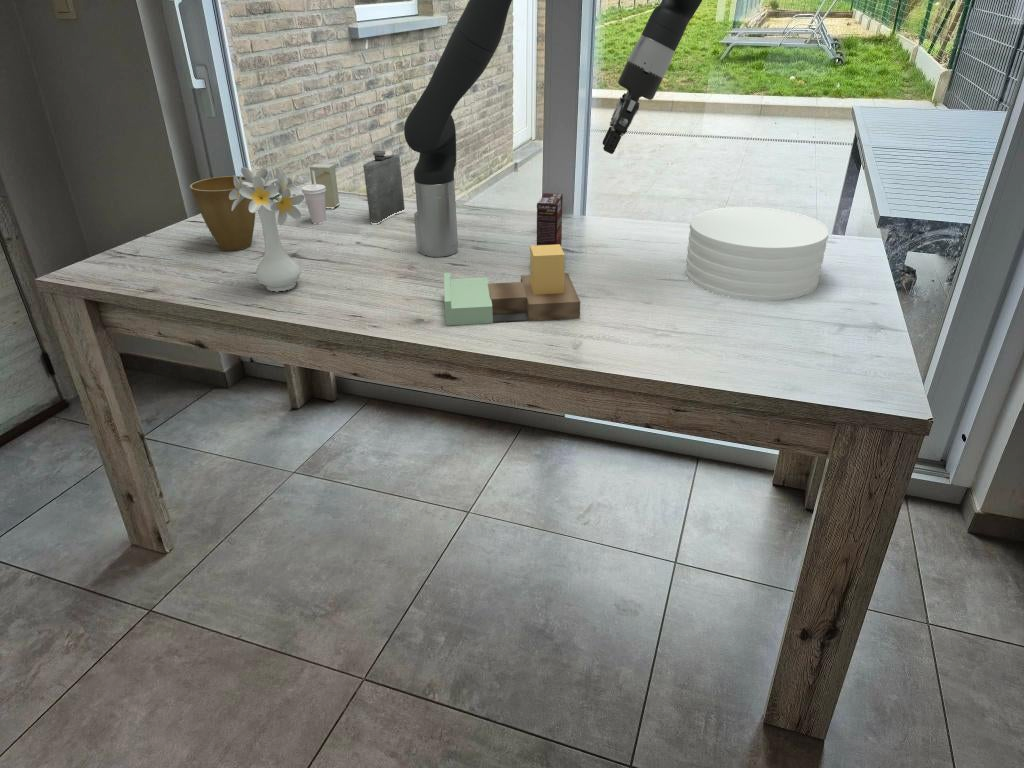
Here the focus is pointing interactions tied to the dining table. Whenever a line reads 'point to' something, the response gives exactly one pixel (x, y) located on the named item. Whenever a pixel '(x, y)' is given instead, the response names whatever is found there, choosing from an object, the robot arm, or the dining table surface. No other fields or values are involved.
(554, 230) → the supplement box
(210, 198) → the plant pot
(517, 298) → the board
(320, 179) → the skincare box
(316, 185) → the smoothie
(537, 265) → the block
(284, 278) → the flower vase
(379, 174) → the flask
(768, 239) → the plate stack
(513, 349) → the dining table surface
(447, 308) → the pale green stepped block
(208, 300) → the dining table surface
